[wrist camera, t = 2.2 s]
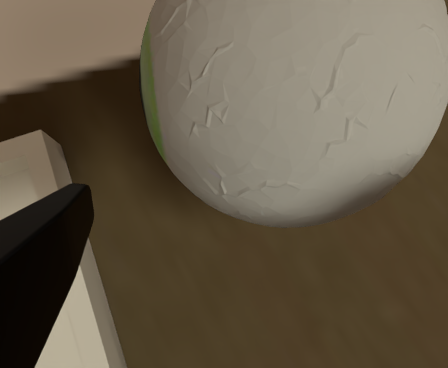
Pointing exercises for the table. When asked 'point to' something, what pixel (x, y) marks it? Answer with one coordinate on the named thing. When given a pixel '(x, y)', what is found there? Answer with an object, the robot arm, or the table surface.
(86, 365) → the tray
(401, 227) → the table surface
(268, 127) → the lollipop
